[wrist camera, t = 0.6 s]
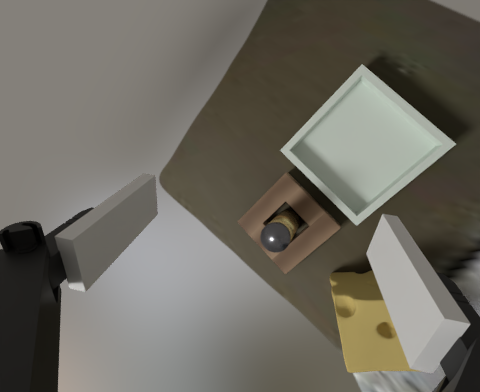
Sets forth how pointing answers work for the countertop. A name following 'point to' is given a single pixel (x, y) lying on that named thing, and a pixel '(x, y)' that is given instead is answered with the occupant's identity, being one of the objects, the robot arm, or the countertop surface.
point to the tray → (365, 145)
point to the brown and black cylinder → (280, 231)
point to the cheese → (365, 324)
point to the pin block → (309, 211)
